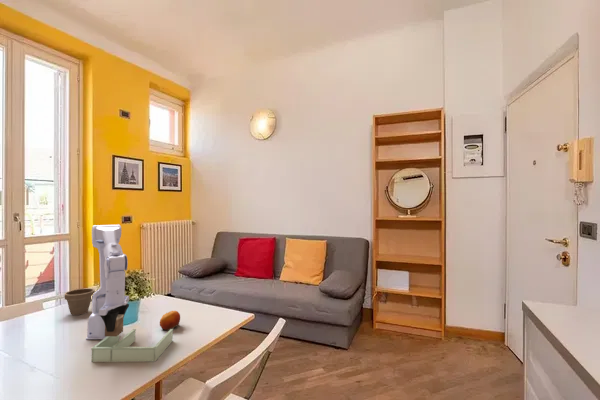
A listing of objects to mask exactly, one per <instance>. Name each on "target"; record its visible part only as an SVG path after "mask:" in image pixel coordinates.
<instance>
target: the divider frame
mask: <svg viewBox="0 0 600 400" xmlns="http://www.w3.org/2000/svg"><path fill="white" fill-rule="evenodd" d="M136 331H137V329H136V328H133V329H132V330H131V331H129V332H128V333H126V334H125V335H123V337H122V338H121V339H120V334H119V335H118V336H107V337H106V338H104V339H101V340H100V341H99V342H98V343H96V344H95V345H93V346H92V347H91V363H93V362H94V363H95V362H96V363H99V362H100V363H101V362H103V363H104V362H105V363H107V362H108V363H109V362H110V363H111V362H112V363H115V362H116V363H117V362H118V363H119V362H120V363H121V362H124V363H125V362H126V363H127V362H156V361H157V360H158V359H159V358H160V357H161V355H162V354H163V353H164V352H165V351H166V349H168V347H169V346H170V344H171V343H172V342H173V341H174V340H173V339H174V338H173V335H174V334H173V333H174V329H170V330H167V332H166V334H164V335H163V337H162V338H161V339H160V340H159V341H158V342H157V343H156V344H155V345H154V346H131V345H132V344H134V342H136Z"/></svg>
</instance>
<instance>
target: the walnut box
mask: <svg viewBox="0 0 600 400" xmlns="http://www.w3.org/2000/svg"><path fill="white" fill-rule="evenodd" d="M123 316H124V317H125V315H124V314H118V316H117V318H116V323H115V329H114V331H113V332H107V330H106V327H105V336H118V335H119V336H120V334H122V333H123V332H124V318H123Z"/></svg>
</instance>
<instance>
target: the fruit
mask: <svg viewBox="0 0 600 400" xmlns="http://www.w3.org/2000/svg"><path fill="white" fill-rule="evenodd" d="M180 321H181V314H180V313H179V311H177V310H170V311H168V312H166V313H164V314H162V315H161V318H160V321H159V327H160V328H161V329H163V330H164V331H169V330H170V329H173V330H174V329H175V328H176V327H180Z"/></svg>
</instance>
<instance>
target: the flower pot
mask: <svg viewBox="0 0 600 400" xmlns="http://www.w3.org/2000/svg"><path fill="white" fill-rule="evenodd" d="M95 292H96V291H95V289H94V288H89V287H88V288H78V289H73V290H69V291H67V292H65V293H64V300H66V302H67V305H68V310H69V314H70V315H73V316H77V315H78V316H79V315H83V314H86V313H88V311H89V309H90V305H91V303H92V299H91V295H92V294H93V293H95Z"/></svg>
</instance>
